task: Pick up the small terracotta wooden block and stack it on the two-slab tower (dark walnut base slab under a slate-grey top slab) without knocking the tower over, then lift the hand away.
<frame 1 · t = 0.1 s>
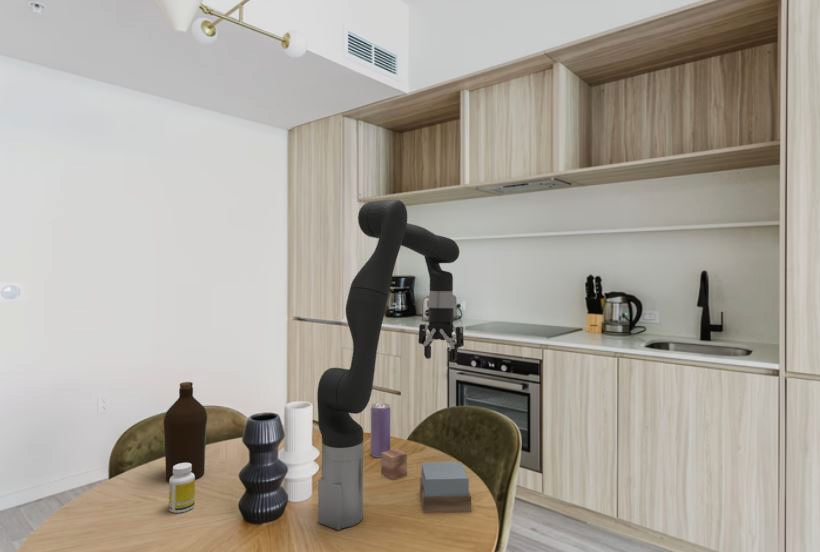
hand: (440, 359, 146), 29 cm above the table, tool pointing down, fingers open, 8 cm apart
beverage can: (380, 455, 147), on the table
slate top slab: (444, 486, 116), point 3 cm above the table, touching walnut base slab
olive oil: (185, 476, 130), on the table
supplement bottle: (181, 508, 112), on the table
walnut base slab: (444, 503, 116), on the table, touching slate top slab
terracotta block: (393, 475, 132), on the table
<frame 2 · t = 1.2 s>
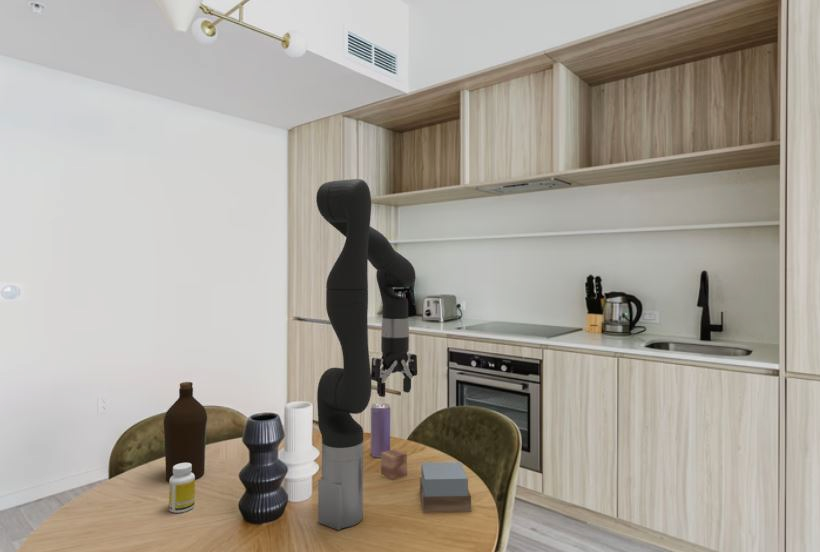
hand: (394, 394, 132), 22 cm above the table, tool pointing down, fingers open, 8 cm apart
nothing on the table moved.
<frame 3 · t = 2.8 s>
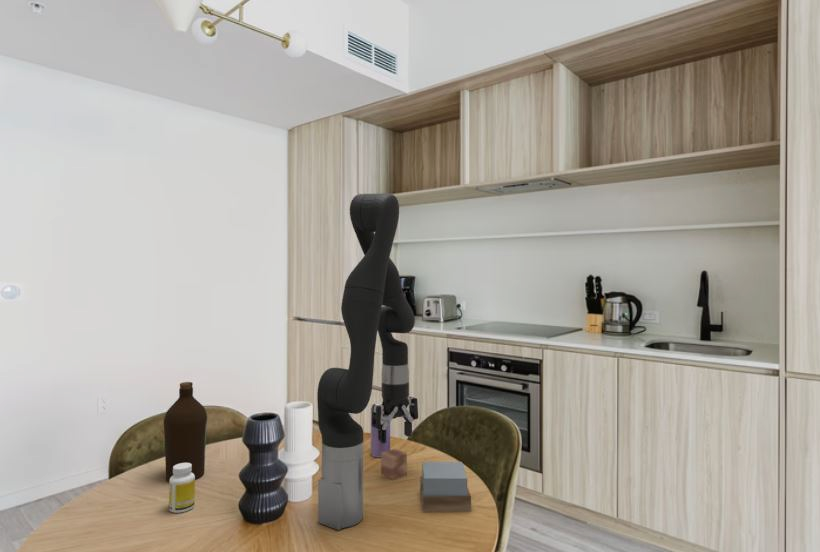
hand: (395, 439, 132), 10 cm above the table, tool pointing down, fingers open, 8 cm apart
nothing on the table moved.
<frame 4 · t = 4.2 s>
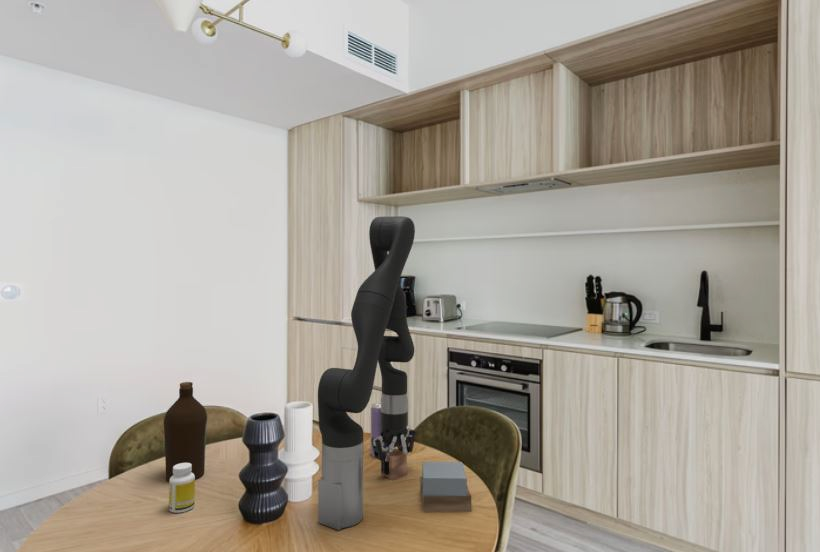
hand: (393, 471, 132), 1 cm above the table, tool pointing down, fingers closed on terracotta block, 5 cm apart
terracotta block: (393, 474, 132), on the table, touching gripper
everything else where it was.
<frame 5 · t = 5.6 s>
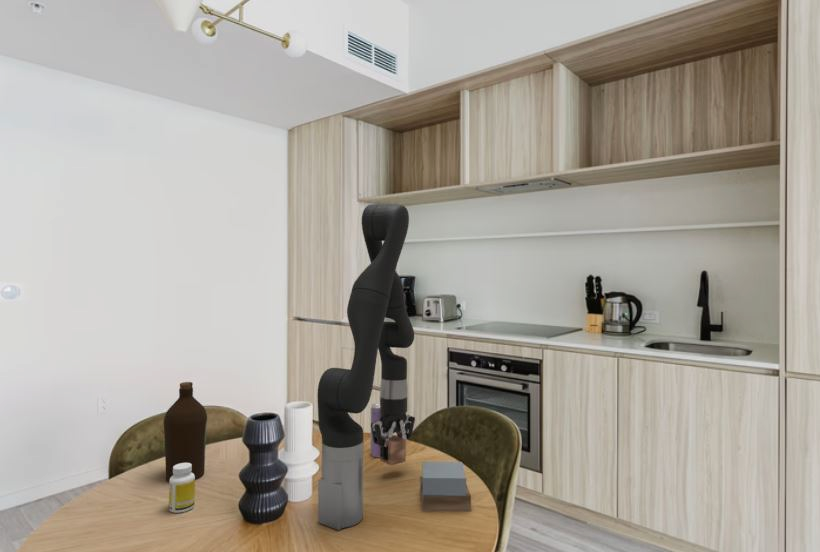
hand: (392, 457, 132), 5 cm above the table, tool pointing down, fingers closed on terracotta block, 5 cm apart
slate top slab: (443, 486, 117), point 4 cm above the table
walnut base slab: (444, 502, 117), on the table
terracotta block: (392, 460, 132), point 4 cm above the table, touching gripper
everything else where it was.
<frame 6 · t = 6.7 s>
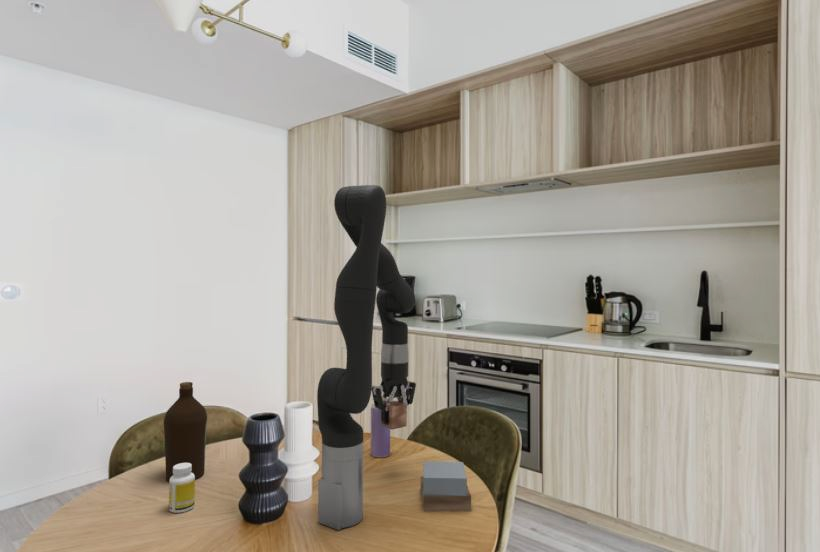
hand: (393, 422, 132), 14 cm above the table, tool pointing down, fingers closed on terracotta block, 5 cm apart
slate top slab: (444, 486, 117), point 3 cm above the table, touching walnut base slab
walnut base slab: (444, 502, 117), on the table, touching slate top slab
terracotta block: (393, 425, 132), point 13 cm above the table, touching gripper
everything else where it was.
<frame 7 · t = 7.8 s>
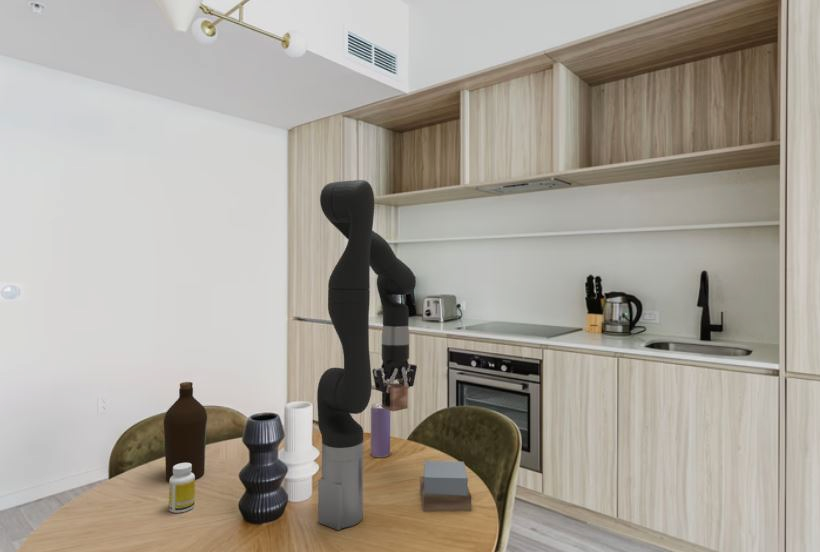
hand: (394, 404, 132), 19 cm above the table, tool pointing down, fingers closed on terracotta block, 5 cm apart
terracotta block: (394, 407, 132), point 18 cm above the table, touching gripper
everything else where it was.
when the fingers open (10 cm above the table, at t = 11.3 s): terracotta block drops 1 cm, resting on slate top slab.
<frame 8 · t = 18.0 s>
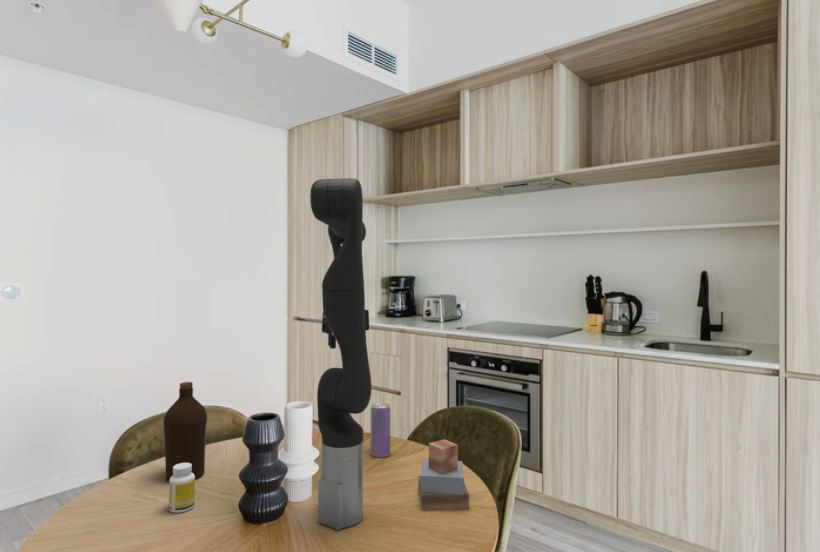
hand: (346, 347, 136), 34 cm above the table, tool pointing down, fingers open, 8 cm apart
slate top slab: (442, 484, 117), point 3 cm above the table, touching terracotta block, walnut base slab
terracotta block: (443, 468, 117), point 7 cm above the table, touching slate top slab
everything else where it was.
at the end: terracotta block 0.3 cm off-centre on the slate top slab, point 4.0 cm above the slate top slab's base; terracotta block tilted 0°; slate top slab 0.1 cm off-centre on the walnut base slab, point 4.0 cm above the walnut base slab's base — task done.
